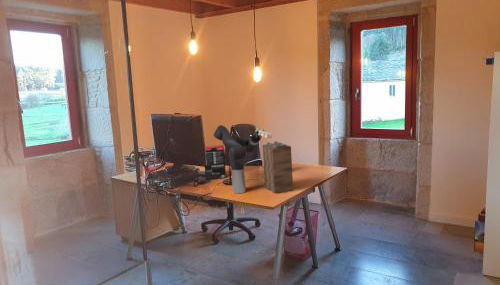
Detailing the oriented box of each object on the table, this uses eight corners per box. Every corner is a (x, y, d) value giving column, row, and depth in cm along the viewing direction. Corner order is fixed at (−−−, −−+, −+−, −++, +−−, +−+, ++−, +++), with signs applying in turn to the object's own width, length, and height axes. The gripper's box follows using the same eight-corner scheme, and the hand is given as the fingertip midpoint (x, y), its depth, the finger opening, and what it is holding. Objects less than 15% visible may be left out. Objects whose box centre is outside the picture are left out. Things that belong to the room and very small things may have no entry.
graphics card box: (225, 175, 322) (223, 144, 317) (226, 178, 315) (223, 145, 310) (205, 178, 320) (202, 146, 315) (205, 180, 313) (202, 147, 308)
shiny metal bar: (255, 133, 304) (255, 130, 303) (260, 133, 305) (259, 129, 305) (266, 138, 282) (266, 134, 281) (272, 137, 283) (271, 133, 282)
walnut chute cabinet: (265, 187, 284) (262, 143, 278) (282, 184, 288) (280, 140, 282) (275, 194, 267) (272, 147, 261) (293, 190, 272) (290, 144, 265)
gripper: (245, 135, 311) (251, 127, 296) (261, 133, 316) (268, 125, 301) (247, 144, 309) (253, 136, 294) (264, 142, 314) (270, 134, 298)
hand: (261, 131), depth 297 cm, fingers closed on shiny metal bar, 4 cm apart
